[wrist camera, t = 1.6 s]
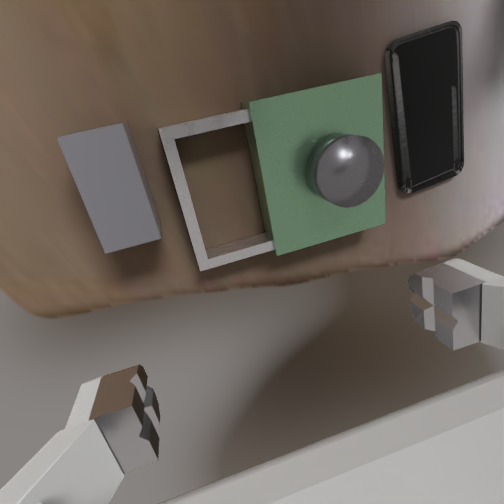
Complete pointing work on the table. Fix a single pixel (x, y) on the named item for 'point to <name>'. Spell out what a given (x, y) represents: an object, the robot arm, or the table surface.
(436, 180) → the phone
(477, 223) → the table surface
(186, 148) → the table surface
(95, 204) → the grey rectangular cuboid
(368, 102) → the multicoloured piece
